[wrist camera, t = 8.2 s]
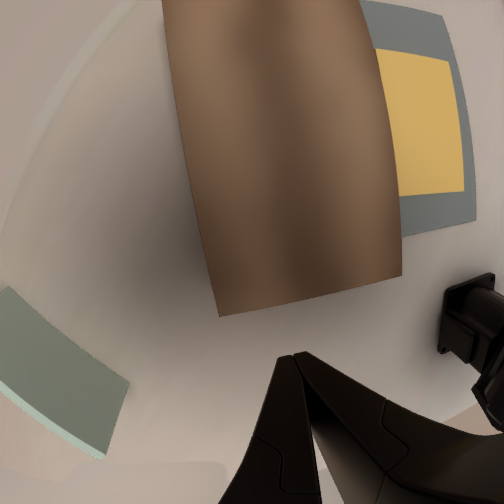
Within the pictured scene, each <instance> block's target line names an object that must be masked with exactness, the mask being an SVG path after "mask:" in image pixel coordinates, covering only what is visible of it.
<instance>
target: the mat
mask: <svg viewBox="0 0 504 504" xmlns="http://www.w3.org/2000/svg"><path fill="white" fill-rule="evenodd" d="M359 2H360V5H361V8H362V11H363V14H364V17H365V20H366V23H367V26H368V30H369V33H370V36H371V40H372V44H373V47H374V49H383V50H391V51H397V52H404V53H409V54H415V55H420V56H425V57H430V58H435V59H439V60H444V61H448V62H449V66H450V71H451V76H452V81H453V86H454V91H455V97H456V103H457V110H458V117H459V124H460V133H461V143H462V155H463V172H464V191H460V192H446V193H433V194H421V195H410V196H399V201H400V216H401V237H404V236H409V235H413V234H418V233H423V232H427V231H432V230H436V229H441V228H445V227H450V226H454V225H459V224H463V223H467V222H472V221H476V182H475V167H474V156H473V146H472V138H471V131H470V124H469V117H468V111H467V106H466V100H465V95H464V91H463V86H462V82H461V77H460V73H459V69H458V65H457V61H456V58H455V54H454V51H453V47H452V44H451V41H450V37H449V34H448V31H447V28H446V25H445V22H444V20H443V17H442V16H441V15H437V14H434V13H430V12H426V11H422V10H417V9H413V8H408V7H403V6H398V5H392V4H387V3H380V2H373V1H366V0H359Z"/></svg>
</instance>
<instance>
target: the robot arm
mask: <svg viewBox="0 0 504 504" xmlns="http://www.w3.org/2000/svg"><path fill="white" fill-rule="evenodd" d="M494 284H495V274H493V273H488V274H485V275H483V276H480V277H477V278H475V279H472V280H470V281H467V282H464V283H461V284H459V285H456V286H453V287H450V288H448V289H447V290H446V292H445V295H444V305H443V314H442V322H441V330H440V337H439V343H438V349H437V350H438V352H439V353H440V354H445V353H447V352H449V351H452V352H453V353H454V354H455V355H457V356H458V357H459V358H460V359H461V360H462V361H463V362H464V363H465V364H468V363H469V364H470V365H472V366H473V367H474V368H475V369H476V370H477V371H478V372H479V373H480V374H481V376H480V377H479V379H478V381H477V382H476V384H474V385H473V387H472V389H471V390H472V392H473V394H474V395H475V398H476V399H477V401H478V403H479V404H480V406H481V407H482V409H483V411H484V413H485V414H486V416H487V418H488V420H489V421H490V423H491V425H492V426H493V427H495V429H496V430H498V431H501V432H503V433H501V434H496V435H489V436H482V435H474V434H470V433H467V432H464V431H461V430H458V429H455V428H452V427H449V426H447V425H444V424H441V423H438V422H436V421H433V420H430V419H428V418H426V417H423V416H421V415H418V414H416V413H414V412H412V411H410V410H408V409H406V408H404V407H402V406H400V405H398V404H396V403H394V402H392V401H390V400H387V399H386V398H385V397H383V396H381V395H380V394H378V393H376V392H374V391H373V390H371V389H369V388H367V387H366V386H364V385H362V384H360V383H359V382H357V381H355V380H353V379H352V378H350V377H348V376H347V375H345V374H343V373H342V372H340V371H338V370H337V369H335V368H333V367H332V366H330V365H328V364H327V363H325V362H323V361H322V360H320V359H318V358H317V357H315V356H313V355H312V354H310V353H309V352H307V351H304V352H300V353H295V354H293V356H292V355H287V356H282V357H279V358H278V359H277V362H276V365H275V368H274V371H273V374H272V378H271V381H270V384H269V387H268V390H267V393H266V396H265V399H264V402H263V405H262V408H261V411H260V414H259V417H258V420H257V423H256V426H255V429H254V432H253V436H252V437H251V440H250V443H249V446H248V448H247V451H246V453H245V456H244V458H243V461H242V463H241V465H240V467H239V468H238V470H237V472H236V474H235V476H234V478H233V480H232V481H231V483H230V485H229V486H228V488H227V490H226V492H225V493H224V495H223V496H222V498H221V500H220V501H219V503H218V504H322V498H321V491H320V484H319V477H318V470H317V463H316V456H315V450H314V443H313V437H312V434H313V436H314V438H315V441H316V443H317V445H318V447H319V449H320V452H321V454H322V456H323V458H324V460H325V463H326V465H327V467H328V469H329V471H330V473H331V476H332V478H333V480H334V482H335V484H336V486H337V488H338V491H339V493H340V495H341V497H342V499H343V501H344V504H504V296H503V295H501V294H499V293H497V292H496V291H494ZM450 293H451V294H450Z"/></svg>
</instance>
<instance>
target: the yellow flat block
mask: <svg viewBox="0 0 504 504" xmlns="http://www.w3.org/2000/svg"><path fill="white" fill-rule="evenodd" d="M374 51H375V55H376V59H377V63H378V67H379V71H380V75H381V80H382V84H383V89H384V93H385V98H386V104H387V109H388V114H389V120H390V126H391V132H392V139H393V146H394V153H395V161H396V169H397V179H398V189H399V196H410V195H421V194H433V193H446V192H460V191H464V172H463V155H462V143H461V133H460V124H459V117H458V110H457V103H456V97H455V91H454V86H453V81H452V76H451V71H450V66H449V62H448V61H444V60H439V59H435V58H430V57H425V56H420V55H415V54H409V53H404V52H397V51H391V50H383V49H374Z"/></svg>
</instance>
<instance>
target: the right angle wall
mask: <svg viewBox="0 0 504 504" xmlns="http://www.w3.org/2000/svg"><path fill="white" fill-rule="evenodd" d="M129 383H130V382H128V381H127V380H125V379H124V378H122V377H121V376H119V375H118V374H116V373H115V372H113V371H112V370H110V369H109V368H107V367H106V366H105V365H103V364H102V363H100V362H99V361H98V360H96V359H95V358H93V357H92V356H91V355H89V354H88V353H87V352H85V351H84V350H83V349H81V348H80V347H79V346H77V345H76V344H75V343H74V342H72V341H71V340H70V339H68V338H67V337H66V336H65V335H63V334H62V333H61V332H60V331H59V330H57V329H56V328H55V327H54V326H53V325H51V324H50V323H49V322H48V321H47V320H46V319H44V318H43V317H42V316H41V315H40V314H39V313H38V312H36V311H35V310H34V309H33V308H32V307H31V306H30V305H29V304H28V303H27V302H26V301H24V300H23V299H22V298H21V297H20V296H19V295H18V294H17V293H16V292H15V291H14V290H13V289H12V288H11V287H10V286H9V287H7V288H6V289H4V290H3V291H1V292H0V391H1V392H2V393H3V394H4V395H6V396H7V397H8V398H9V399H10V400H11V401H13V402H14V403H15V404H16V405H18V406H19V407H20V408H21V409H23V410H24V411H25V412H26V413H28V414H29V415H30V416H32V417H33V418H34V419H36V420H37V421H38V422H40V423H41V424H43V425H44V426H45V427H47V428H48V429H50V430H51V431H53V432H54V433H55V434H57V435H58V436H60V437H61V438H63V439H65V440H66V441H68V442H69V443H71V444H72V445H74V446H76V447H77V448H79V449H81V450H82V451H84V452H86V453H87V454H89V455H91V456H93V457H94V458H96V459H98V460H101V459H102V458H103V457H104V456H106V454H107V450H108V447H109V444H110V441H111V437H112V434H113V431H114V428H115V425H116V422H117V419H118V416H119V412H120V409H121V406H122V403H123V401H124V398H125V395H126V392H127V389H128V386H129Z"/></svg>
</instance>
